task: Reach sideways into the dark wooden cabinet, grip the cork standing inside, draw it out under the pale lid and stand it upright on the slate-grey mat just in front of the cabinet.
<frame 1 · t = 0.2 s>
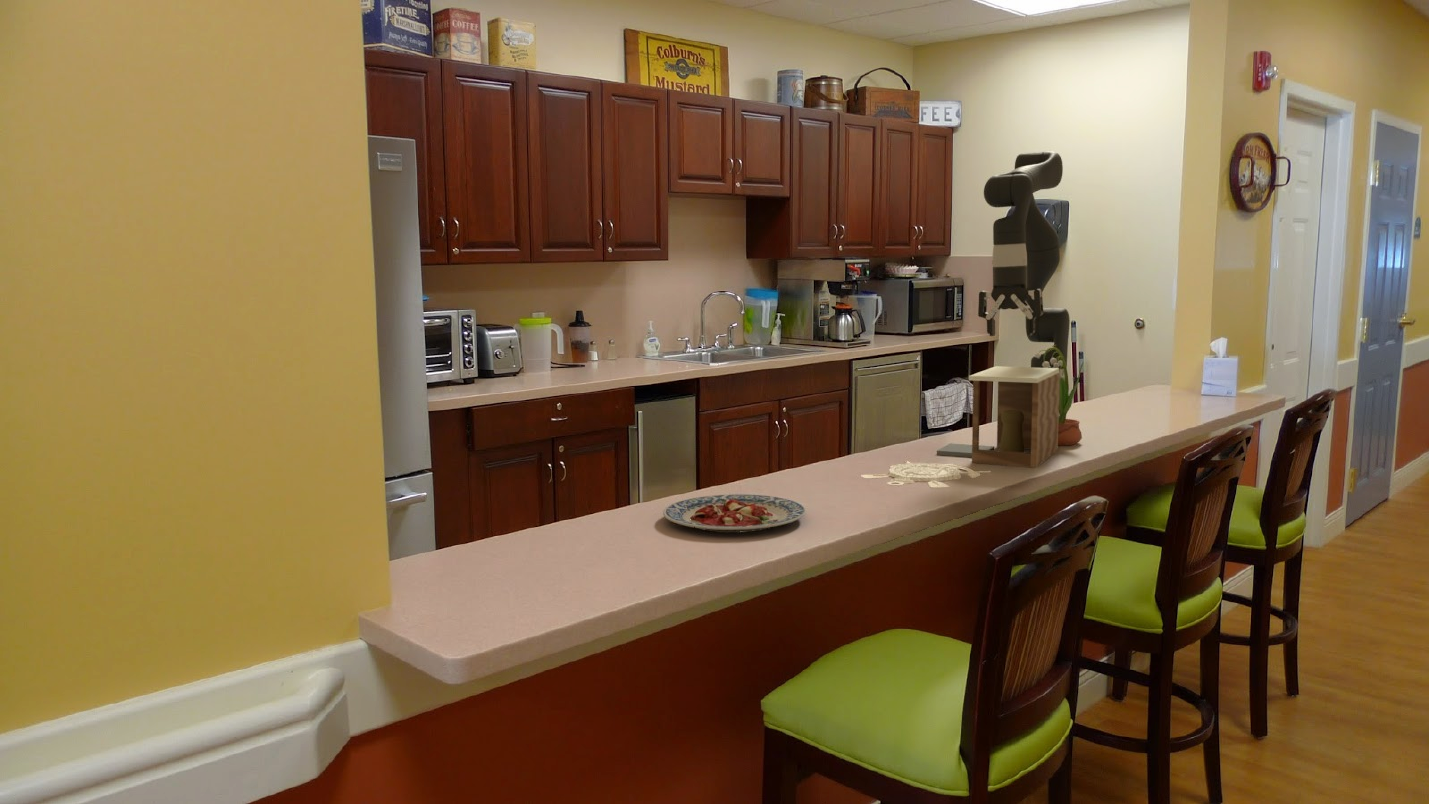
hand: (1010, 335, 234), 29 cm above the worktop, tool pointing down, fingers open, 8 cm apart
cork: (1011, 456, 242), resting in wooden cabinet
potted flower: (1056, 444, 258), on the worktop
ceramic plate: (734, 522, 185), on the worktop
slate mat: (965, 452, 248), on the worktop
wooden cabinet: (1016, 456, 242), on the worktop
pendant: (924, 477, 223), on the worktop
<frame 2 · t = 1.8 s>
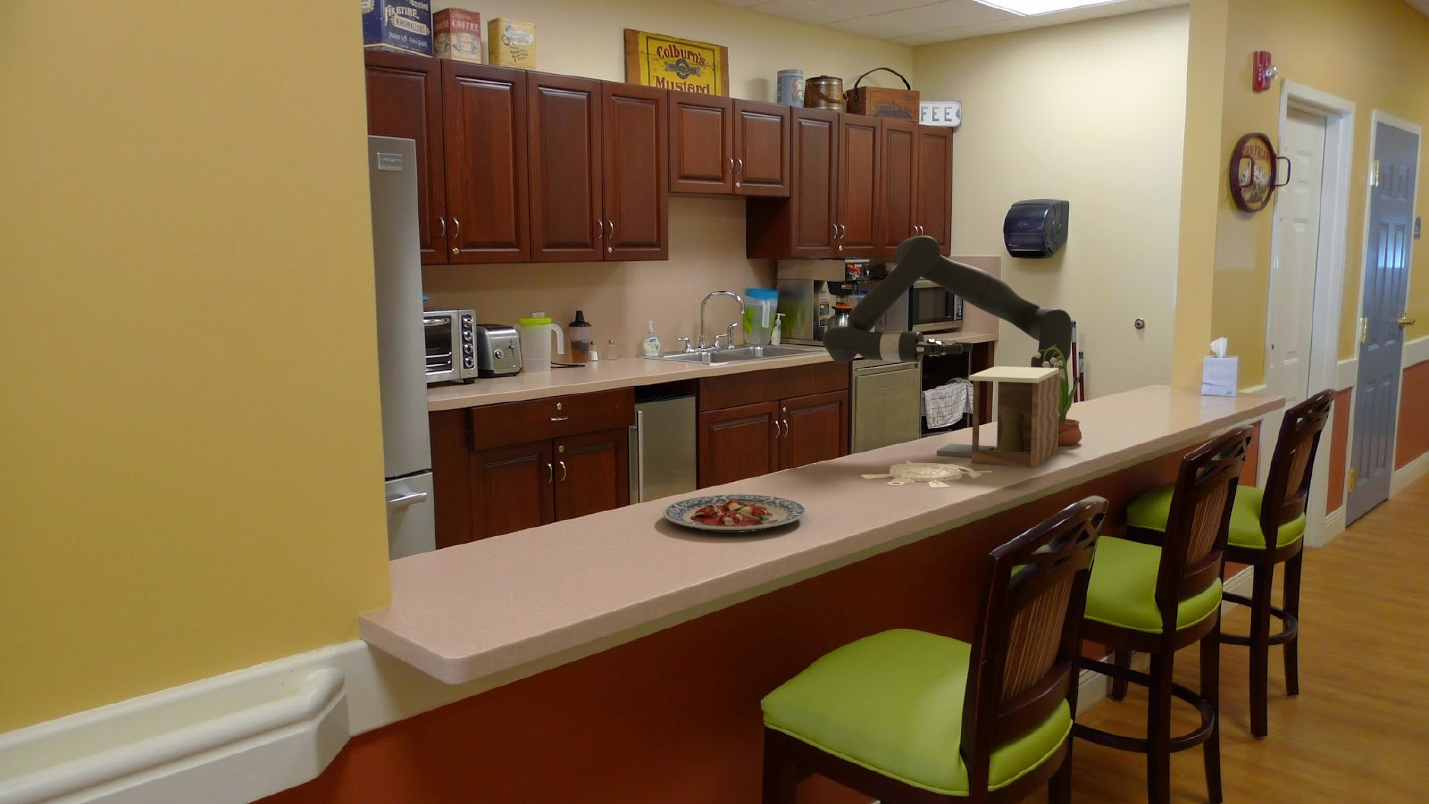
hand: (967, 348, 244), 25 cm above the worktop, tool horizontal, fingers open, 8 cm apart
nothing on the worktop moved.
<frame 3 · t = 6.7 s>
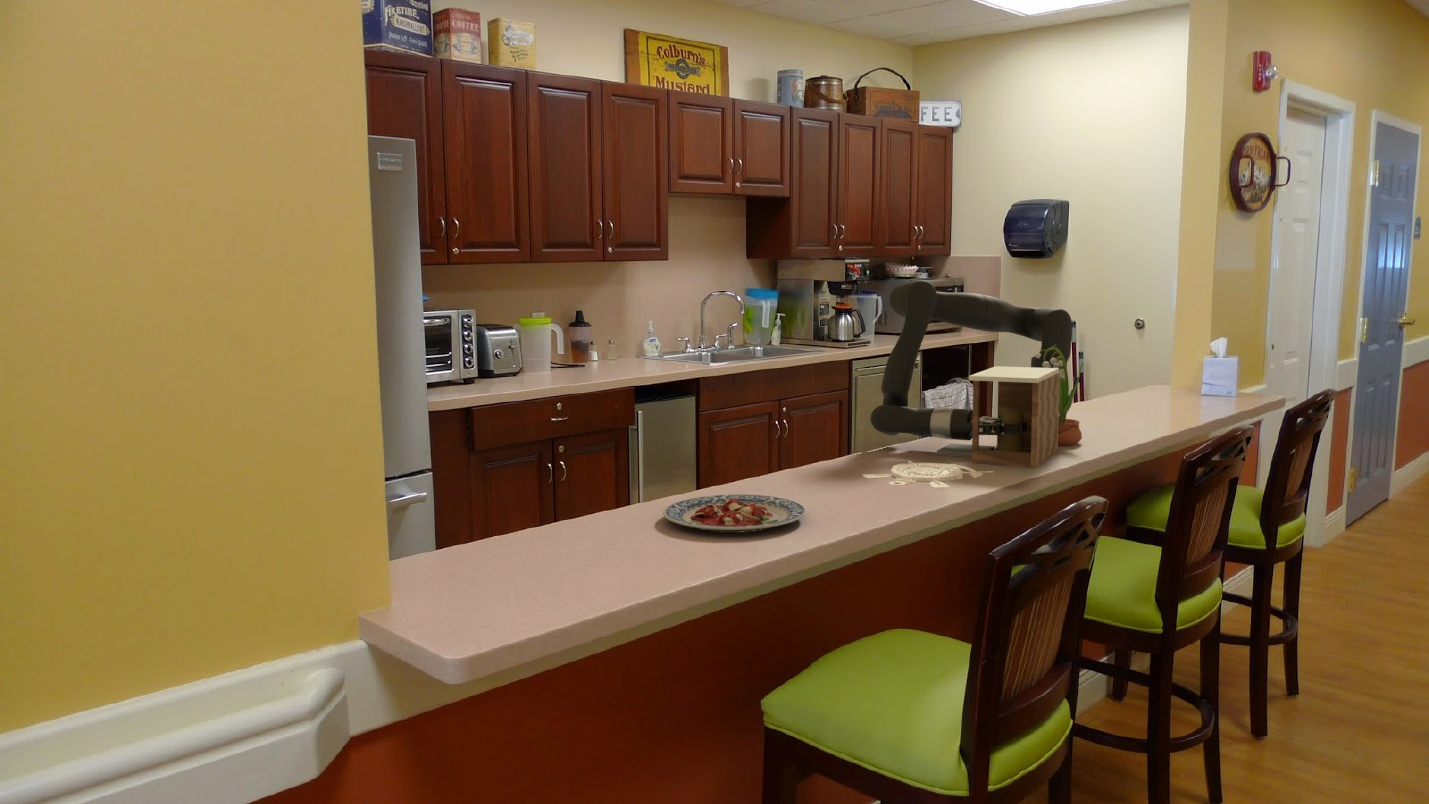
hand: (1024, 428, 240), 7 cm above the worktop, tool horizontal, fingers closed on cork, 4 cm apart
cork: (1011, 456, 242), resting in wooden cabinet, touching gripper
everything else where it was.
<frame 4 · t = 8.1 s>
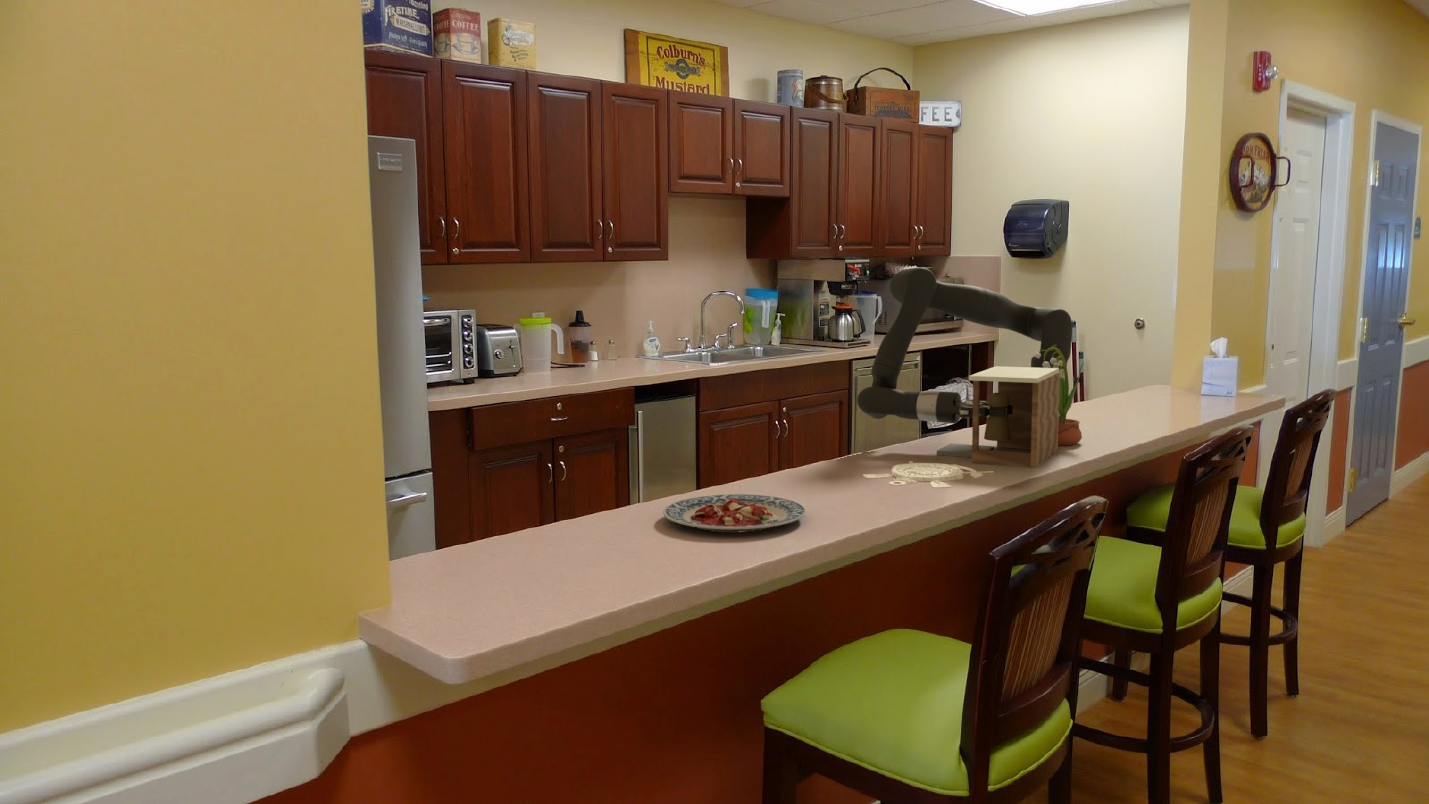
hand: (1009, 411, 241), 11 cm above the worktop, tool horizontal, fingers closed on cork, 4 cm apart
cork: (997, 439, 243), point 4 cm above the worktop, touching gripper
everything else where it was.
when the fingers open (9 cm above the worktop, at t = 9.7 s): cork moves 3 cm, resting on slate mat.
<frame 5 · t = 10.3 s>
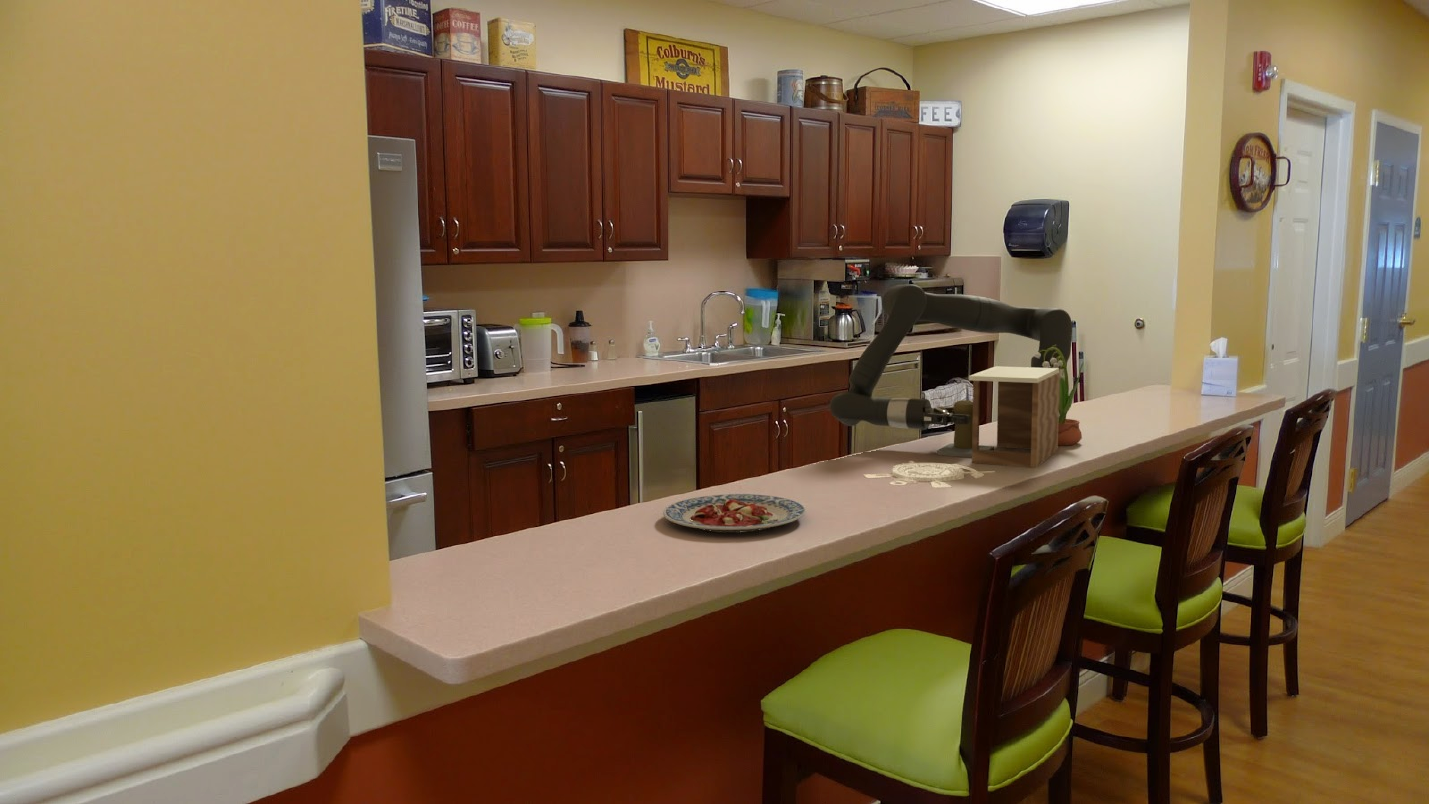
hand: (974, 417, 245), 9 cm above the worktop, tool horizontal, fingers open, 8 cm apart
cork: (966, 445, 250), point 1 cm above the worktop, touching gripper, slate mat
everything else where it was.
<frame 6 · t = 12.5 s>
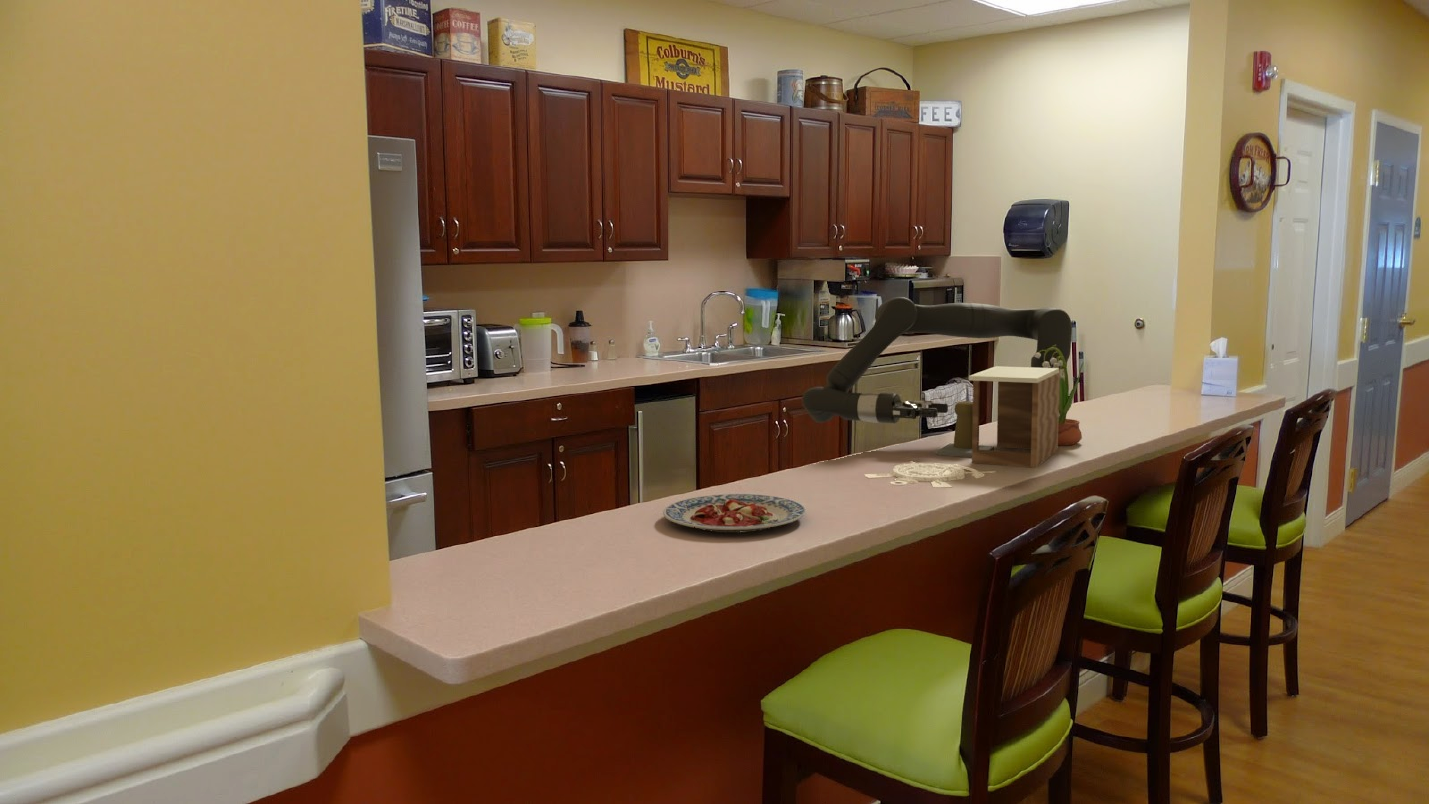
hand: (942, 410, 249), 10 cm above the worktop, tool horizontal, fingers open, 8 cm apart
cork: (965, 446, 250), point 1 cm above the worktop, touching slate mat
everything else where it was.
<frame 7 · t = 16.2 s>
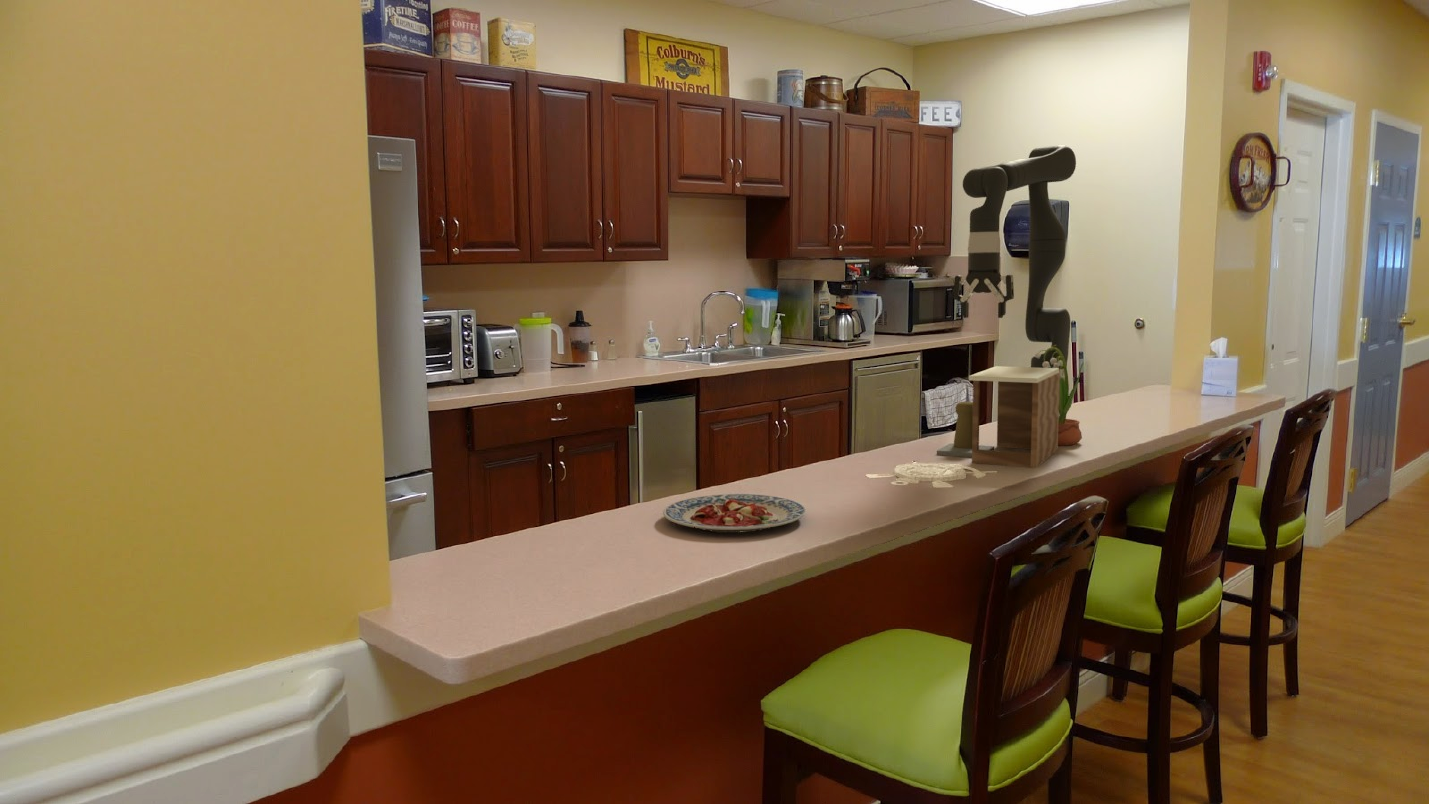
hand: (983, 317, 252), 32 cm above the worktop, tool pointing down, fingers open, 8 cm apart
at the end: cork inside the target area (3.0 cm from its centre), point 0.8 cm above the worktop; cork tilted 0°; the gripper is holding nothing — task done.
